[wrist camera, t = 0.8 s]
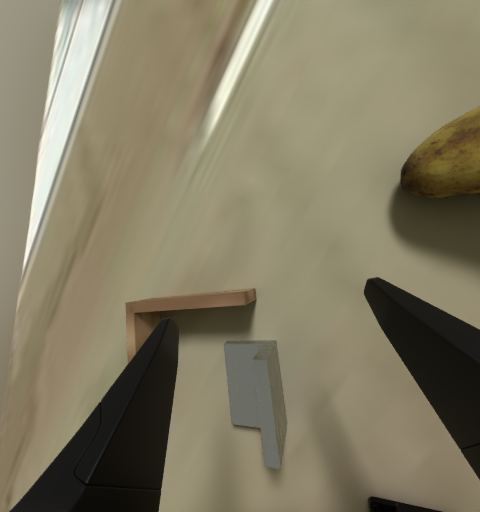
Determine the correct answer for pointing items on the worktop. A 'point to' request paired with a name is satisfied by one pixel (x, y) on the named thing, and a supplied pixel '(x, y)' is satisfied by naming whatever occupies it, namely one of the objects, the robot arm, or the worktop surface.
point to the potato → (446, 160)
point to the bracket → (257, 393)
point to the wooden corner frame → (148, 311)
